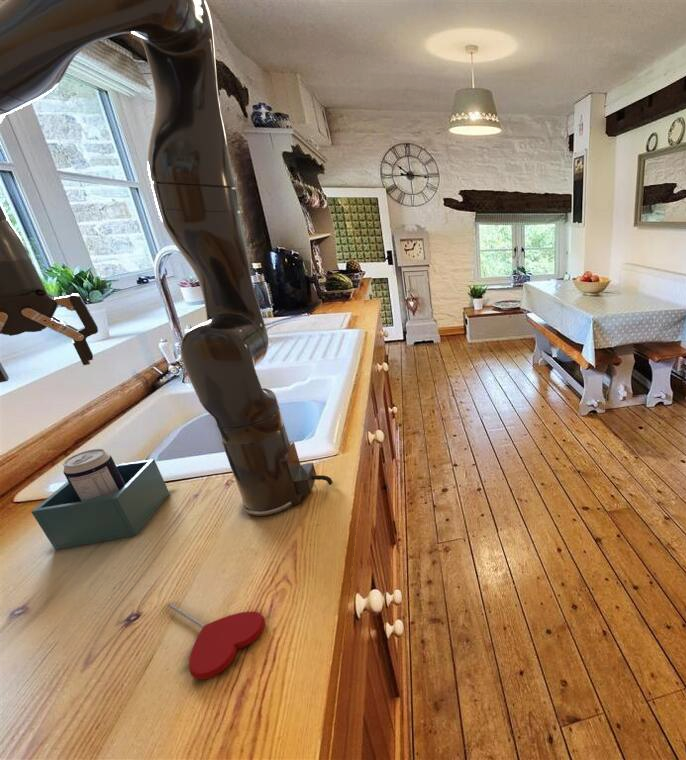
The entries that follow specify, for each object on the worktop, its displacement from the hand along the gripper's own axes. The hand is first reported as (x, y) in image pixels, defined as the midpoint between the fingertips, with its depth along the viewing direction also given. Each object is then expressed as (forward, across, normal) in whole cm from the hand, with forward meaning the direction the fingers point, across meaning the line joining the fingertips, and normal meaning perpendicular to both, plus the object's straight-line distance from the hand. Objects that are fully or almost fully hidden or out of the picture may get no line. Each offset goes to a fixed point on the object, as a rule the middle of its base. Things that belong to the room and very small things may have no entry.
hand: (47, 371), depth 60 cm
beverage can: (+26, -1, -1) cm, 27 cm away
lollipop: (+27, +6, -36) cm, 45 cm away
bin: (+27, -1, -1) cm, 27 cm away
